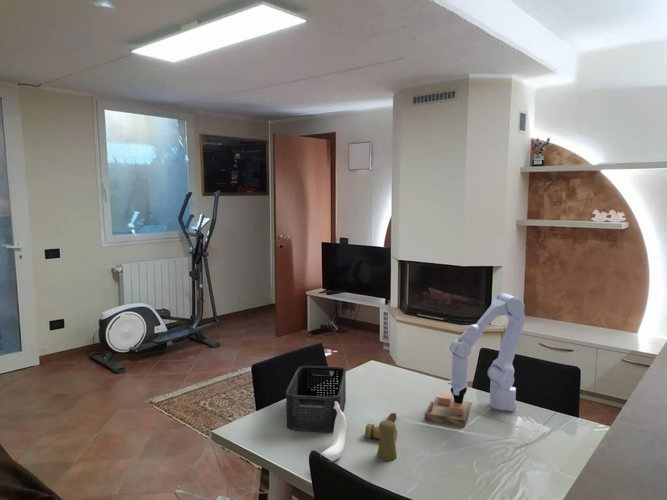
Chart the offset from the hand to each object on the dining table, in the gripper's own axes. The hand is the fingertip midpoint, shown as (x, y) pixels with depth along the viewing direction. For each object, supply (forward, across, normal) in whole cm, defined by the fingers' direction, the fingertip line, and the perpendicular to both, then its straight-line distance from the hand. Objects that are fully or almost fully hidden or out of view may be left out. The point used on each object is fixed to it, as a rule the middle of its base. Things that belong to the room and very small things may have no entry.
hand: (458, 406), depth 176 cm
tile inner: (+1, +3, 0) cm, 3 cm away
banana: (+2, +47, -31) cm, 56 cm away
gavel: (+2, +24, -21) cm, 32 cm away
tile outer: (+1, -4, -6) cm, 7 cm away
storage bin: (+2, +23, -48) cm, 53 cm away
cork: (+2, +41, -16) cm, 44 cm away
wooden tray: (+2, +3, -3) cm, 5 cm away
